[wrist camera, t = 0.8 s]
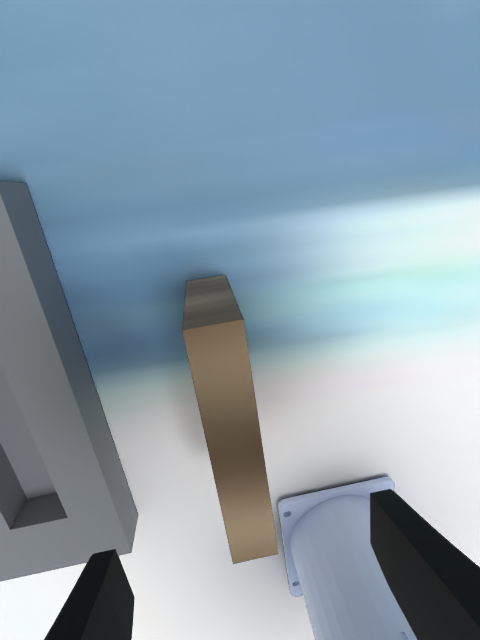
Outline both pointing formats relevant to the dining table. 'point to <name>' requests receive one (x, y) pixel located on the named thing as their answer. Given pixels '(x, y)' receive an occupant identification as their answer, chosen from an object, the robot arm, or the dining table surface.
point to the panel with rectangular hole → (49, 417)
